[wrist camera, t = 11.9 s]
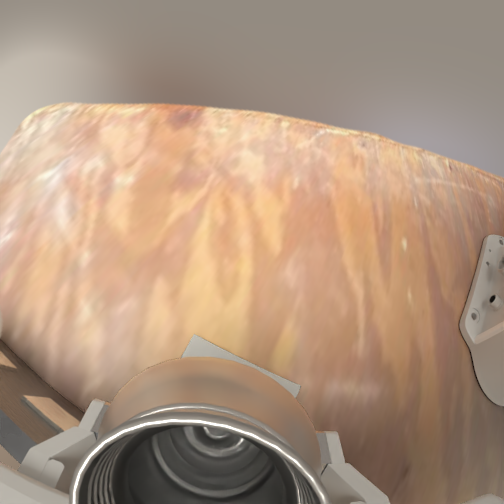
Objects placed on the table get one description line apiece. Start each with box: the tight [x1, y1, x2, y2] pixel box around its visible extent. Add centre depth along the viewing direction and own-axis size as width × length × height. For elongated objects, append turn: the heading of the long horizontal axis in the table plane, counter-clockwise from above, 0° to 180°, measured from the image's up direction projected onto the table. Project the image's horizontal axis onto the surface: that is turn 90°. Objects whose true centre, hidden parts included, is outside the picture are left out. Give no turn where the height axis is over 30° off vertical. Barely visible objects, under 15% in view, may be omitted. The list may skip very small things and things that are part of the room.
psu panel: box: [0, 340, 85, 464], centre depth 17 cm, size 2×18×12 cm, turn 64°
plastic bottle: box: [69, 357, 331, 504], centre depth 12 cm, size 6×7×20 cm
